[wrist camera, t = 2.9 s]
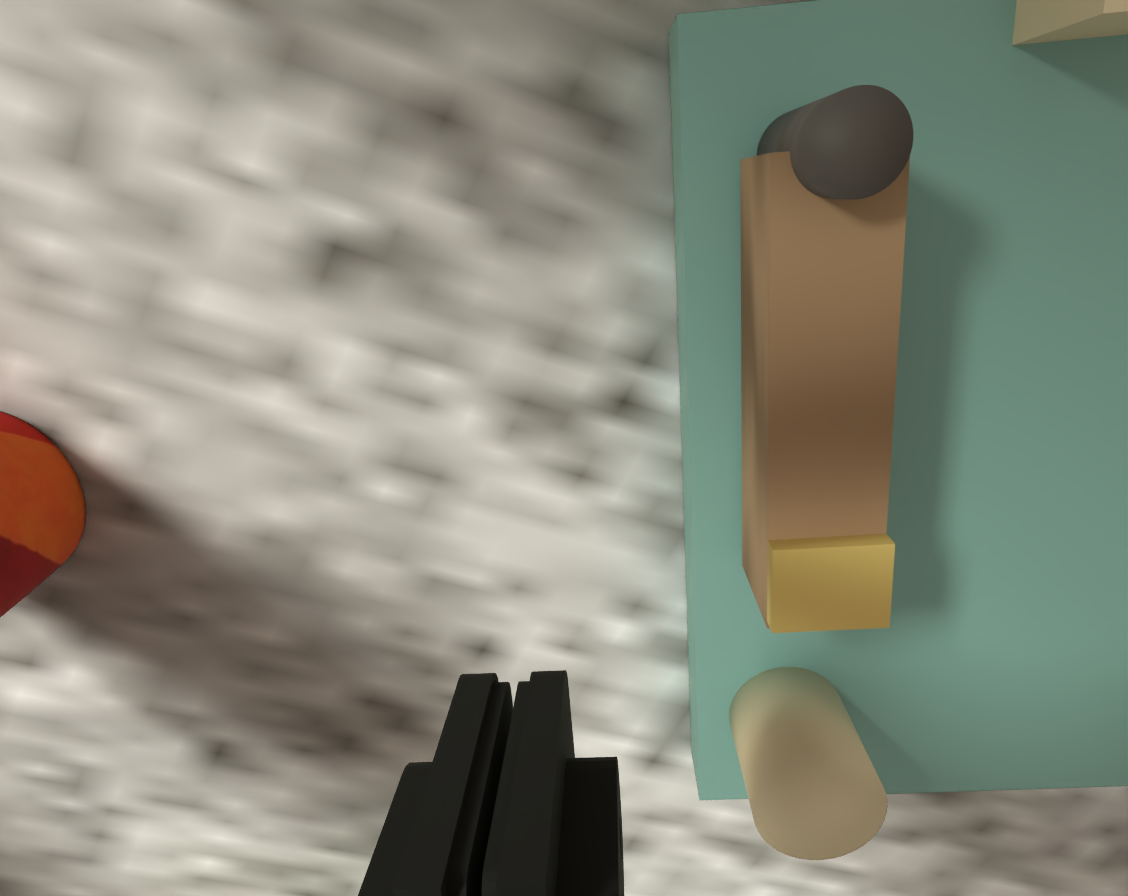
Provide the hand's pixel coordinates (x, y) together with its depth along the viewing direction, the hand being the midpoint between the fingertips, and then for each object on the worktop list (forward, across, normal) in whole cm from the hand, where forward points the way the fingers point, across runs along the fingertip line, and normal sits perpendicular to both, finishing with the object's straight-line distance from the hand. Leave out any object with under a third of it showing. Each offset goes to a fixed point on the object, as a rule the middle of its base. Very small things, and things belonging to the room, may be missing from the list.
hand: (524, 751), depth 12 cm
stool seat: (+11, -12, -1) cm, 16 cm away
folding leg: (+8, -6, -4) cm, 11 cm away
